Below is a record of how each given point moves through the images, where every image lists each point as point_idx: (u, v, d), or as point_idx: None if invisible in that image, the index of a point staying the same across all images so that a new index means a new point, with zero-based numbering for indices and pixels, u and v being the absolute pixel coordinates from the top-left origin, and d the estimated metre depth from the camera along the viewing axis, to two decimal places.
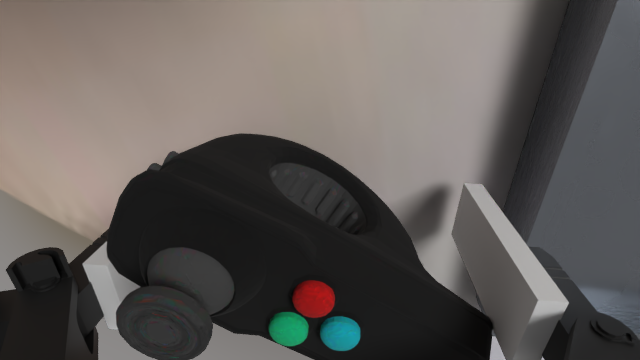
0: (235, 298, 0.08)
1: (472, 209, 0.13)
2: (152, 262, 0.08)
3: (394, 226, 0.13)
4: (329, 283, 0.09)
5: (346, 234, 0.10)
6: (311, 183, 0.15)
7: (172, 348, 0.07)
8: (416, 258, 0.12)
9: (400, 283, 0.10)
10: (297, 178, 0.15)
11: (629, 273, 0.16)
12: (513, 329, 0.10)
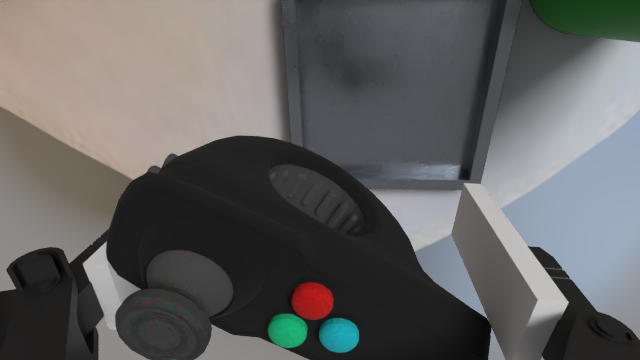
0: (234, 300, 0.08)
1: (472, 208, 0.13)
2: (151, 264, 0.08)
3: (393, 228, 0.13)
4: (327, 285, 0.09)
5: (345, 236, 0.10)
6: (310, 185, 0.15)
7: (172, 350, 0.07)
8: (415, 260, 0.12)
9: (399, 285, 0.10)
10: (296, 180, 0.15)
11: (359, 149, 0.31)
12: (513, 329, 0.10)
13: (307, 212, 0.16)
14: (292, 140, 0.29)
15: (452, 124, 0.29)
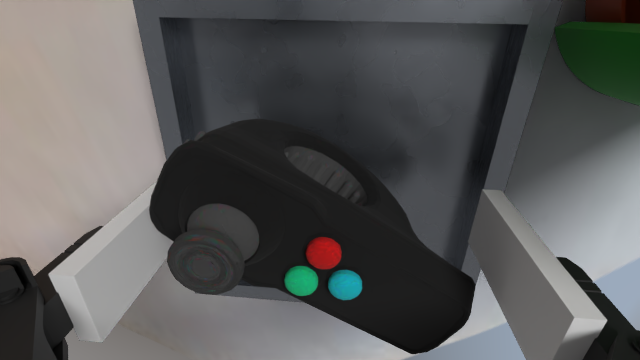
0: (259, 249, 0.10)
1: (493, 216, 0.13)
2: (193, 216, 0.10)
3: (392, 203, 0.15)
4: (337, 240, 0.11)
5: (351, 202, 0.12)
6: (318, 166, 0.17)
7: (211, 282, 0.09)
8: (410, 229, 0.14)
9: (396, 243, 0.12)
10: (306, 161, 0.16)
11: None
12: (543, 346, 0.09)
13: None
14: None
15: (428, 220, 0.19)
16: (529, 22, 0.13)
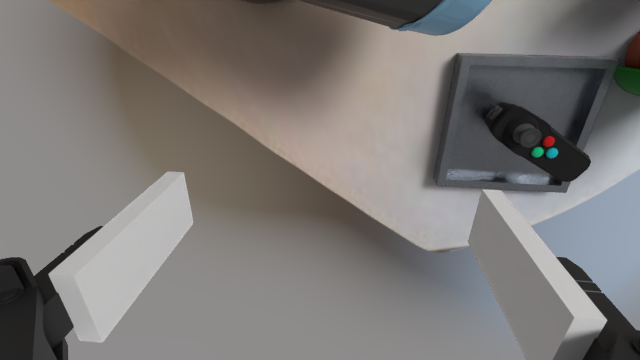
0: None
1: (493, 216, 0.13)
2: (518, 127, 0.34)
3: None
4: (552, 137, 0.35)
5: None
6: None
7: (530, 143, 0.34)
8: None
9: (567, 140, 0.36)
10: None
11: (484, 161, 0.45)
12: (543, 346, 0.09)
13: None
14: (444, 154, 0.44)
15: None
16: (607, 68, 0.37)
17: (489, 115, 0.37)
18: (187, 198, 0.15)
